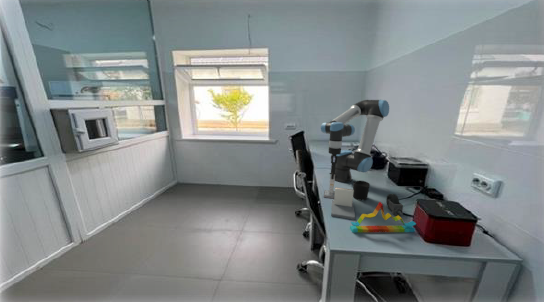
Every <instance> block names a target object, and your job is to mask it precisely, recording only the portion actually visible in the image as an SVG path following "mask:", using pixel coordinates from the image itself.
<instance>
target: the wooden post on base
mask: <svg viewBox="0 0 544 302" xmlns="http://www.w3.org/2000/svg"><path fill="white" fill-rule="evenodd" d="M334 187H335V183H334V184H330V183H329V190H328V189H324V191H325V196H329V197H334V196H335V190H334V189H335V188H334Z"/></svg>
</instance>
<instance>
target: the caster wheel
mask: <svg viewBox="0 0 544 302" xmlns="http://www.w3.org/2000/svg"><path fill="white" fill-rule="evenodd" d="M385 201H386V206H387V208H388V209H389V210H390V211H391V213H392V214H391V215H394V216H398V215H399V216H404V214H403V208H404V205H403V204H402V202H400V199H399V196H398V195H397V194H394V193H388V194H387V195H386V199H385Z"/></svg>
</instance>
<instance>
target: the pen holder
mask: <svg viewBox="0 0 544 302" xmlns="http://www.w3.org/2000/svg"><path fill="white" fill-rule="evenodd" d="M352 184H353V186H352V190H354V192H353V199H355V200H358V201H366V200H368V196H369V191H370V185H371V184H370V183H369V182H368V181H365V180H356V181H353V183H352Z"/></svg>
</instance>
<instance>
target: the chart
mask: <svg viewBox="0 0 544 302" xmlns="http://www.w3.org/2000/svg"><path fill="white" fill-rule="evenodd" d="M379 211H380V213H381V216H382V219H383V220H384V221H387V220H388V219H390V218H391V219H392V220H393V221H395V222H398V221H400V222H401V224H403V225H361V223H362V222H363V220H364V219H365V218H367V219H371V218H374V217H377V214H378V213H379ZM350 224H351V225H350V226H349V230H350V231H351V233H415V232H416V228H414V227H413V226H416V225H417V223H416V222H415V221H413V220H411V221H409V222H404V219H403V218H402V217H401V215H395V216H392V214H390V213H389V212H387V213H386V214H385V209H384V205H383V203H382V202H381V201H378V203H377V205H376V207H375V208H374V210H373V211H372V212H371V213H367V214H366V213H362V214H361V215H360V216H359V218H358V219H357V221H356V222H354V221H350Z"/></svg>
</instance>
